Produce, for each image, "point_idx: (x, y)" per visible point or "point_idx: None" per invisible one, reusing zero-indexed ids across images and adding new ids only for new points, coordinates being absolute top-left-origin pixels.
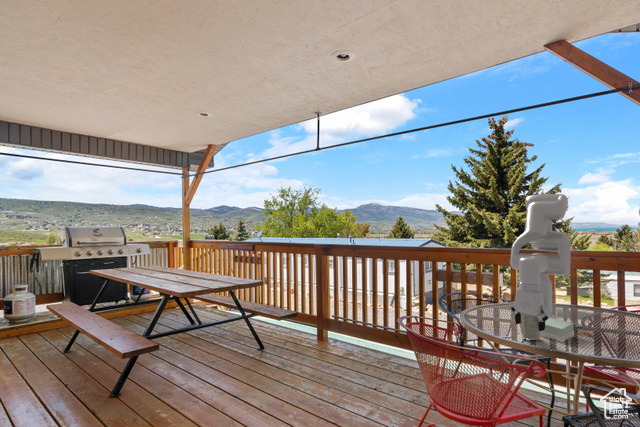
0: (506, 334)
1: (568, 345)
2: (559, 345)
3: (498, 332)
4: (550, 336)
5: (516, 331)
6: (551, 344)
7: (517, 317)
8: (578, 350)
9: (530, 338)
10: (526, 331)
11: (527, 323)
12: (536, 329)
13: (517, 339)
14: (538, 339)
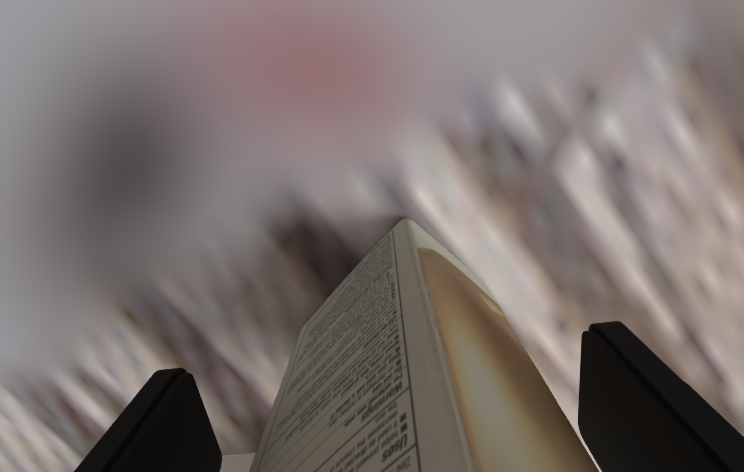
0: (629, 184)
1: None
2: None
3: (737, 148)
4: None
5: None
6: (207, 357)
7: (675, 445)
8: (38, 426)
9: (354, 278)
10: (379, 285)
11: (363, 389)
12: (286, 404)
13: (456, 174)
14: (304, 331)
